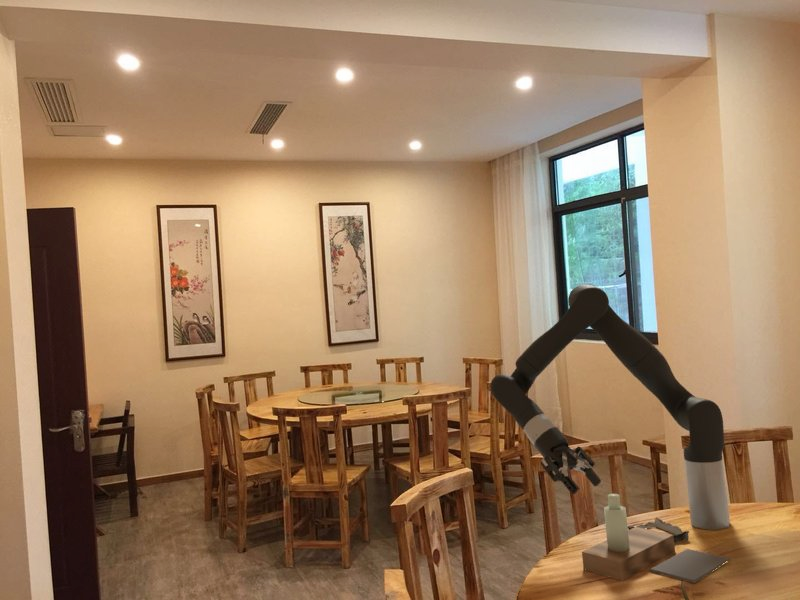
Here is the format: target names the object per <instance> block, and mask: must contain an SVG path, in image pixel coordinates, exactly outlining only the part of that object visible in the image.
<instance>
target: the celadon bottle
mask: <svg viewBox="0 0 800 600" xmlns="http://www.w3.org/2000/svg"><path fill="white" fill-rule="evenodd" d="M607 502H608V503H607V504H608V505H607V506H604V507H603V511H604V513H603V514H604V523H605V534H606V540H607V545H608V549H609V550H611V551H617V552H623V551H627V550H629V549H630V546H629V536H628V526H629V525H628V518H627V517H628V516H627V509H626V507H625V506H623V505H621V499H620V494H618V493H608V494H607Z"/></svg>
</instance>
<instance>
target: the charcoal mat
mask: <svg viewBox="0 0 800 600" xmlns="http://www.w3.org/2000/svg"><path fill="white" fill-rule="evenodd" d="M728 560H730V561H731V558H730V557H725V556H721V555H716V554H712V553H709V552H704V551H703V552H702V551H698V550H694V549H690V548H686V549H684V550H682V551H681V552H679V553H676V554H675V555H674V556H671V557H670V558H667V559H666V560H664V561H662V562H661V563H659V564H657V565H656V566H654V567H651V568H650V572H651V573H655V574H659V575H662V576H666V577H669V578H673V579H677V580H681V581H684V580H685V581H684V582H689V583H693V584H695V583H697V582H699V581H700V580H702V579H704V578H705V577H707V576H708V574H709V573H710V574H712V573H713V572H714V571H713V570H715V569H716V568H718V567H719V566H721V565H722V564H723V563H725V562H726V561H728ZM721 567H722V566H721ZM718 569H719V568H718ZM712 571H713V572H712ZM715 571H716V570H715ZM711 572H712V573H711ZM710 574H709V575H710ZM706 575H707V576H706ZM703 577H704V578H703Z"/></svg>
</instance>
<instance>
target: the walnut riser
mask: <svg viewBox="0 0 800 600" xmlns="http://www.w3.org/2000/svg"><path fill="white" fill-rule="evenodd" d="M634 527H635V528H632V529H630V530H628V536H629V546H630V549H629V550H627V551H623V552H617V551H611V550H609V549H608V545H607V539H606V540H604V541H602V542H600V543H598V544H596V545H594V546H591V547H590V548H587V549H585V550H583V551H581V556H582V567H583V570H584V569H586V570H585V571H587V570H589V571H588V572H591V571H592V573H594V574H599V575H602V576H606V577H609V578H612V579H616V580H619V581H624V580H626V579H628V578H629V577H631V576H633V575H635V574H637V573H639V572H641V571H642V570H644V569H646V568H648V567H650V566H652V565H654V564H655V563H658V562H660V561H661V560H663V559H665V558H666V557H669V556H670V555H672V554H675V552H676V546H675V543H674V535H675V534H673V533H668V532H662V531H658V530H652V529H643V528H638V527H637V526H634Z"/></svg>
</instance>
